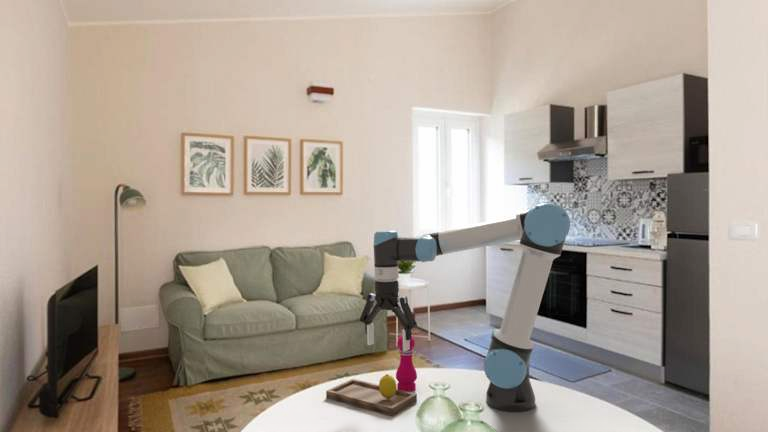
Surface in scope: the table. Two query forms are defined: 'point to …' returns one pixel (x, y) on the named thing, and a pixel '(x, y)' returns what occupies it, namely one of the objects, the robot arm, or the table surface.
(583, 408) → the table surface
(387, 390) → the lemon
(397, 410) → the walnut tray
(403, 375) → the pepper mill
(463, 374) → the table surface
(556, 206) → the robot arm
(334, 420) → the table surface
